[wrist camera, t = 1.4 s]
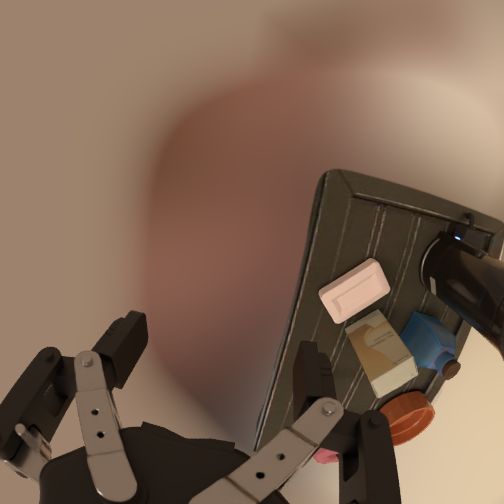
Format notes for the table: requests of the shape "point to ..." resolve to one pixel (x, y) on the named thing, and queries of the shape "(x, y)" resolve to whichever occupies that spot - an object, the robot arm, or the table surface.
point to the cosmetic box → (381, 353)
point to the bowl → (408, 416)
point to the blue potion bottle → (431, 344)
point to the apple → (326, 456)
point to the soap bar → (354, 290)
